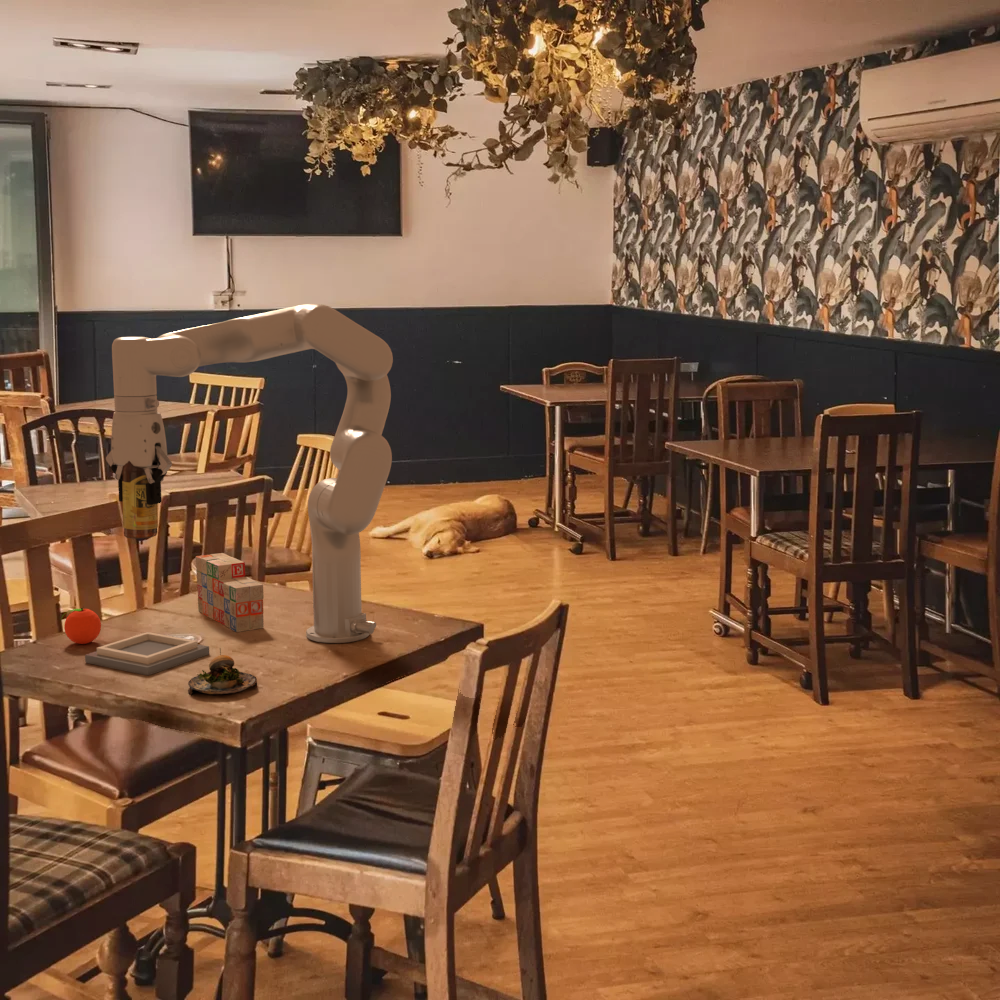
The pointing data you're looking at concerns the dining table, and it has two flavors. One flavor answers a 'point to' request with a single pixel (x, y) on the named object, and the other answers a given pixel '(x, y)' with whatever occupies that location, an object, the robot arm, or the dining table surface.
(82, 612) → the clementine
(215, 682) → the burger
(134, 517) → the sauce bottle
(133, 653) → the slate coaster board
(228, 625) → the stack of blocks
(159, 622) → the dining table surface
